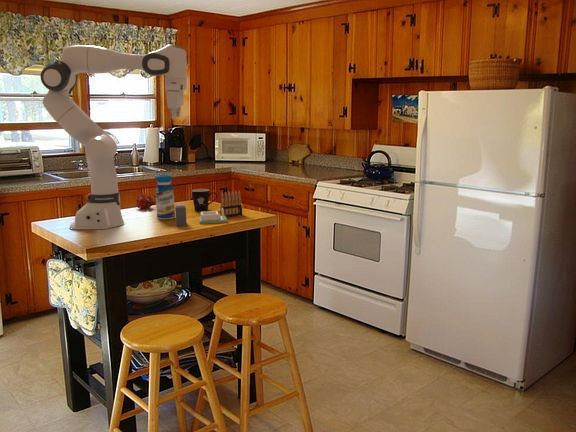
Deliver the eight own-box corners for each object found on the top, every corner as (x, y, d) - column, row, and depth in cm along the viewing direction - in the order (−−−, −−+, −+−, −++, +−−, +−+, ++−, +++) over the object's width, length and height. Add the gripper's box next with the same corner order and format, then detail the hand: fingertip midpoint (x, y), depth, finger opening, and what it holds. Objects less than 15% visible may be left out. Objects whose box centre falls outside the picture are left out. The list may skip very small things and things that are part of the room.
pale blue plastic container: (200, 223, 244) (199, 212, 243) (199, 219, 254) (198, 208, 253) (227, 222, 246) (227, 211, 245) (225, 218, 256) (225, 207, 255)
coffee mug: (189, 211, 273) (188, 191, 271) (197, 208, 281) (196, 188, 279) (211, 212, 270) (210, 192, 268) (218, 209, 278) (217, 189, 276)
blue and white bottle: (175, 215, 263) (172, 173, 259) (175, 219, 255) (173, 175, 251) (156, 216, 261) (154, 174, 257) (156, 220, 253) (154, 176, 249)
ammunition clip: (240, 214, 264) (239, 189, 261) (242, 215, 262) (241, 190, 260) (220, 217, 258) (219, 191, 256) (222, 217, 256) (221, 192, 254)
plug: (176, 226, 240) (175, 205, 238) (176, 224, 244) (175, 204, 242) (186, 225, 241) (185, 205, 239) (186, 223, 245) (185, 203, 243)
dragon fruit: (142, 209, 288) (150, 216, 279) (129, 201, 283) (136, 208, 273) (151, 196, 289) (160, 202, 279) (138, 187, 283) (146, 194, 274)
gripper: (172, 83, 245) (172, 114, 249) (164, 85, 226) (164, 120, 230) (187, 84, 246) (186, 115, 250) (179, 86, 226) (179, 121, 230)
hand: (175, 117), depth 240 cm, fingers open, 8 cm apart
